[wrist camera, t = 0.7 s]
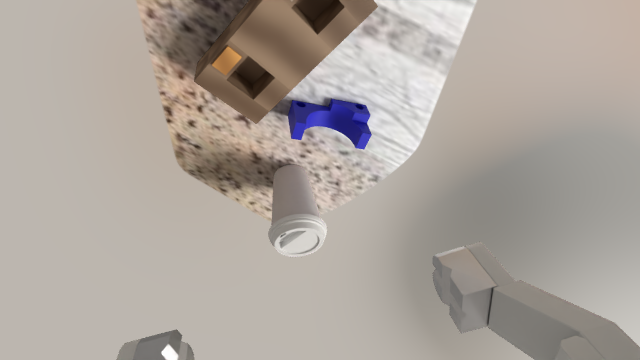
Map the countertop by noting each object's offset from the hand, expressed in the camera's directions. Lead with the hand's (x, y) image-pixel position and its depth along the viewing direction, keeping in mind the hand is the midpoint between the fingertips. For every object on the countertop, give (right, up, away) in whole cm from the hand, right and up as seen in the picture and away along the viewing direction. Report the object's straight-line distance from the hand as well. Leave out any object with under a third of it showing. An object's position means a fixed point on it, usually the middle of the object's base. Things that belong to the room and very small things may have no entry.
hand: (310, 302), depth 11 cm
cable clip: (+1, +15, +45) cm, 47 cm away
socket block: (-5, +24, +34) cm, 42 cm away
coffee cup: (-5, +5, +54) cm, 54 cm away
